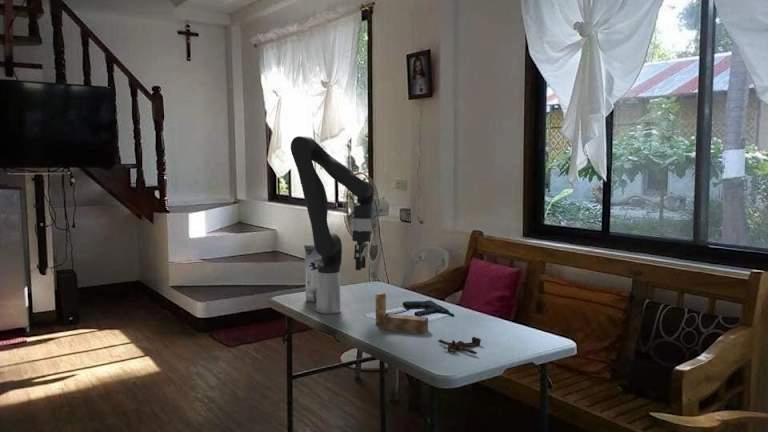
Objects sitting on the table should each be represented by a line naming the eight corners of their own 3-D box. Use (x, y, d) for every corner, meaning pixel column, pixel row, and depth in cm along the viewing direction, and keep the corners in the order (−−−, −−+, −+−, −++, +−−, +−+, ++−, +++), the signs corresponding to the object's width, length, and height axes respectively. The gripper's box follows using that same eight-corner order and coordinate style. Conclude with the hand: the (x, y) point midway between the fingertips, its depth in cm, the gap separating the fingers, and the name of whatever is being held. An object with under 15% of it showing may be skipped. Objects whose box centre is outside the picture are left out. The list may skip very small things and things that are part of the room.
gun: (423, 322, 247) (456, 318, 253) (423, 316, 247) (456, 311, 253) (398, 307, 269) (428, 303, 275) (398, 301, 268) (428, 297, 274)
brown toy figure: (497, 342, 207) (467, 346, 198) (496, 355, 207) (466, 360, 198) (459, 331, 221) (429, 334, 212) (458, 343, 221) (428, 346, 212)
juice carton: (302, 300, 281) (301, 242, 279) (319, 296, 289) (318, 239, 287) (316, 303, 276) (315, 243, 273) (332, 299, 283) (332, 241, 281)
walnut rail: (383, 329, 233) (383, 316, 233) (388, 326, 238) (388, 313, 238) (423, 333, 227) (423, 320, 227) (427, 330, 232) (427, 317, 231)
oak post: (374, 324, 240) (373, 294, 239) (378, 322, 244) (377, 292, 242) (383, 325, 238) (383, 295, 237) (387, 323, 242) (387, 293, 241)
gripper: (356, 228, 259) (355, 266, 260) (348, 230, 245) (347, 270, 246) (374, 229, 258) (372, 267, 258) (367, 230, 244) (365, 271, 244)
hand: (360, 269), depth 252 cm, fingers open, 8 cm apart
